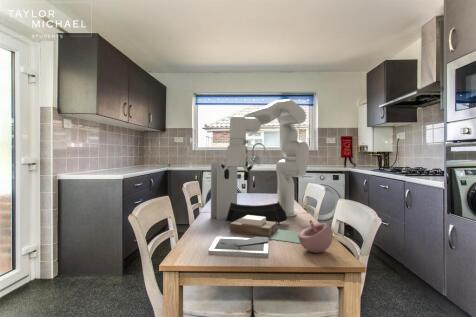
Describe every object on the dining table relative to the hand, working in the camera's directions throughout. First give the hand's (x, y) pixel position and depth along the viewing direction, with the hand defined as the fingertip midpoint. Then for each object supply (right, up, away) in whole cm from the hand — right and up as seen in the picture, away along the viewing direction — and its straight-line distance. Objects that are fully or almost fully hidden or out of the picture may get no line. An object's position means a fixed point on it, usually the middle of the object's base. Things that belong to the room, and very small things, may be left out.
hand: (236, 179), depth 131 cm
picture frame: (+2, -25, -26) cm, 36 cm away
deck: (+8, -23, -5) cm, 25 cm away
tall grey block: (-7, -22, +24) cm, 34 cm away
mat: (+23, -23, -11) cm, 35 cm away
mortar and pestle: (+29, -24, -29) cm, 47 cm away
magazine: (+10, -23, +10) cm, 27 cm away
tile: (+8, -19, -5) cm, 21 cm away
